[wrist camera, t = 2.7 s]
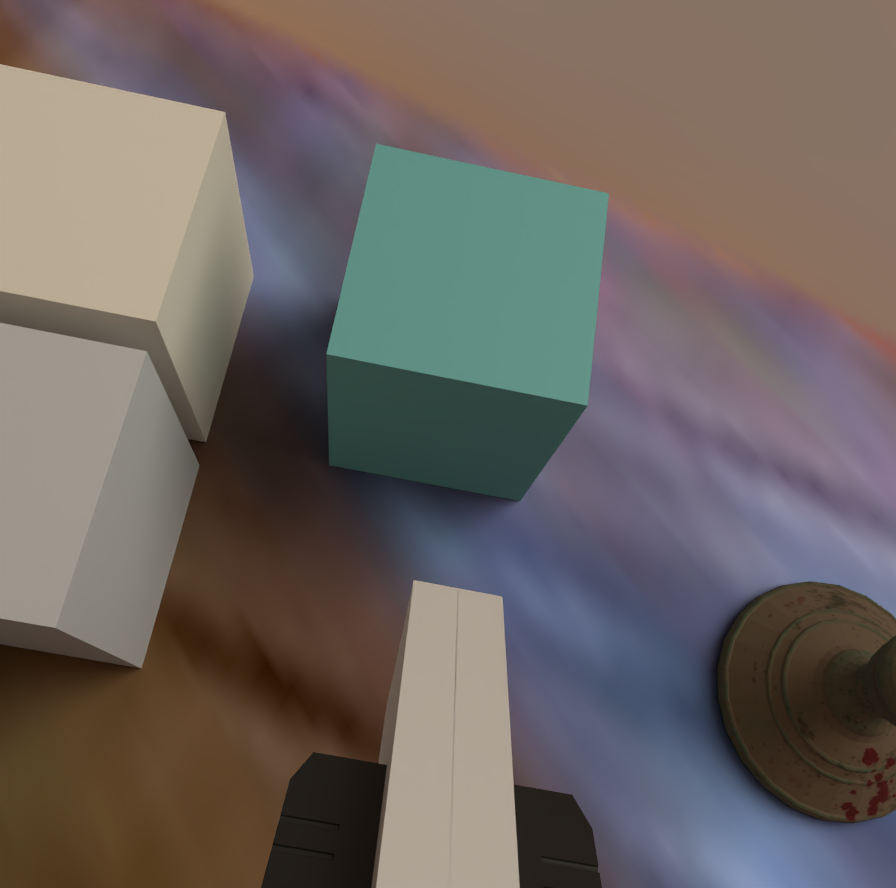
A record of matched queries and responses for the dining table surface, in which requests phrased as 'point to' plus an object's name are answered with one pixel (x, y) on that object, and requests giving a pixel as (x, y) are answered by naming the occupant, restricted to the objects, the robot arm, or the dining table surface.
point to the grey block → (86, 495)
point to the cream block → (124, 229)
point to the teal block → (463, 324)
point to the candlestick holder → (814, 699)
